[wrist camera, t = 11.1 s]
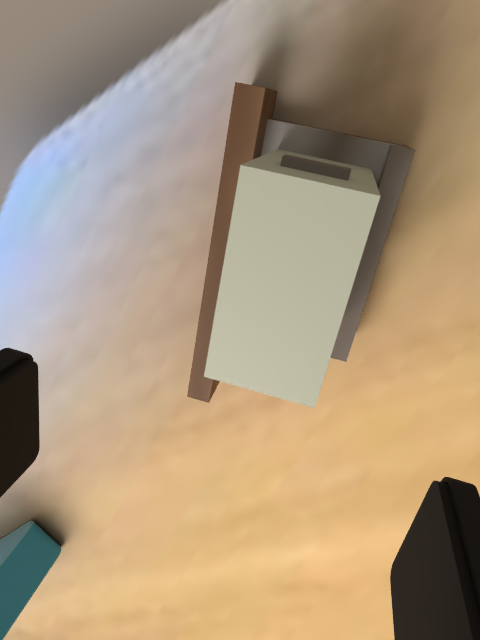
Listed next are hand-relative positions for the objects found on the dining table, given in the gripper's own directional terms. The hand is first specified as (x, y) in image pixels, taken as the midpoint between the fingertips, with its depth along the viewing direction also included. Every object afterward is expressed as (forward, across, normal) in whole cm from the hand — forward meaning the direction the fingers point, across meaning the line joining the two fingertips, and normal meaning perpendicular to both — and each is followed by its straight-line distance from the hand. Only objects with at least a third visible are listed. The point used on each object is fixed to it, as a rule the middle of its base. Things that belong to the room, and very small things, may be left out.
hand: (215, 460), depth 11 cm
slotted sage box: (+20, 0, 0) cm, 20 cm away
